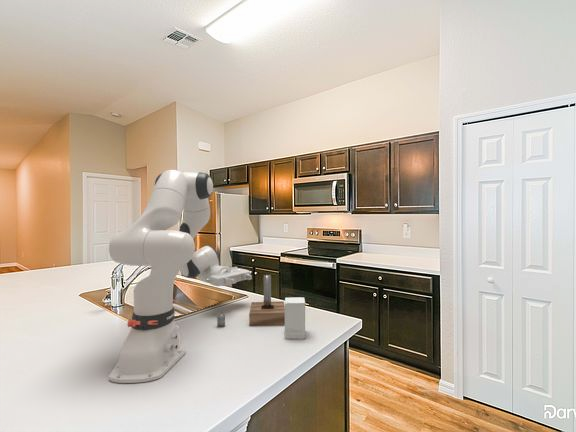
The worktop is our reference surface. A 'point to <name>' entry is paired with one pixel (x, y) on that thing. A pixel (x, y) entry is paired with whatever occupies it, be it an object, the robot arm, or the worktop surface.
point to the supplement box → (295, 318)
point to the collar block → (267, 314)
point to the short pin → (221, 320)
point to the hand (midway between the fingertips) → (243, 279)
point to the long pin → (267, 291)
